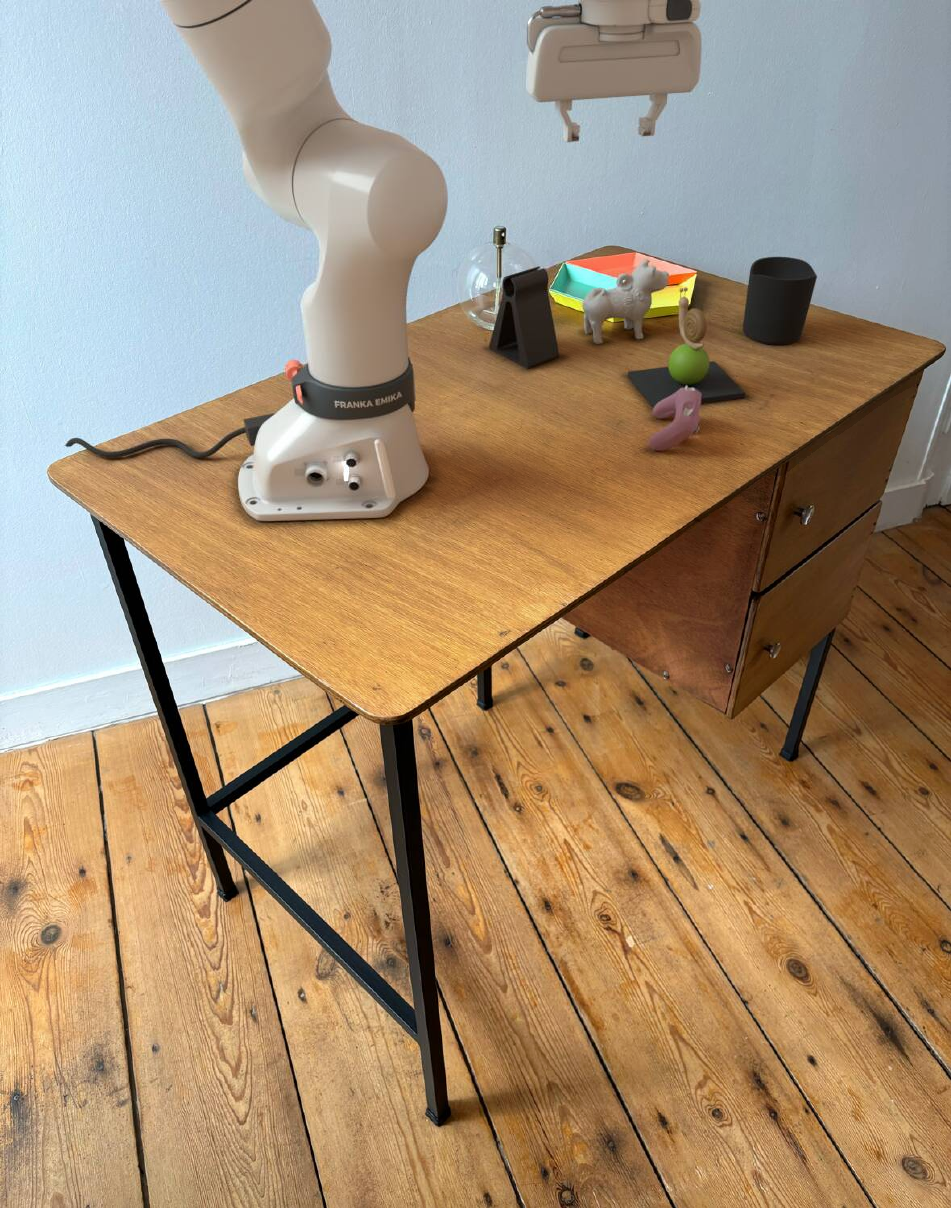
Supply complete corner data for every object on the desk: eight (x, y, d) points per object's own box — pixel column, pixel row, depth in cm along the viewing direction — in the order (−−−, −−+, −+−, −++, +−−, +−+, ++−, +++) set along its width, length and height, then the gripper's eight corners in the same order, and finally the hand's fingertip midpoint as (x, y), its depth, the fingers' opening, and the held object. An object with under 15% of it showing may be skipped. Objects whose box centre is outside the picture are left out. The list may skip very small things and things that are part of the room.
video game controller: (676, 466, 118) (709, 423, 114) (644, 448, 118) (676, 404, 113) (679, 427, 126) (710, 385, 121) (649, 410, 125) (679, 368, 121)
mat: (653, 409, 127) (654, 404, 126) (627, 376, 134) (627, 371, 134) (744, 397, 129) (745, 392, 128) (713, 366, 136) (714, 361, 136)
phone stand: (488, 348, 142) (488, 267, 134) (520, 337, 145) (521, 258, 137) (527, 369, 136) (529, 286, 129) (559, 357, 139) (563, 276, 131)
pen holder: (815, 333, 145) (830, 267, 138) (783, 352, 139) (797, 285, 133) (760, 316, 150) (772, 251, 143) (727, 334, 144) (738, 268, 138)
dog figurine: (668, 335, 145) (677, 265, 138) (589, 346, 142) (594, 275, 135) (653, 321, 149) (661, 252, 142) (576, 331, 146) (580, 262, 139)
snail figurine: (688, 367, 134) (700, 283, 127) (714, 387, 130) (728, 300, 122) (654, 375, 133) (664, 290, 125) (679, 394, 128) (691, 307, 120)
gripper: (535, 11, 101) (532, 151, 110) (714, 1, 105) (697, 138, 114) (519, 2, 106) (517, 137, 115) (691, -6, 110) (677, 125, 118)
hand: (608, 137), depth 114 cm, fingers open, 8 cm apart
